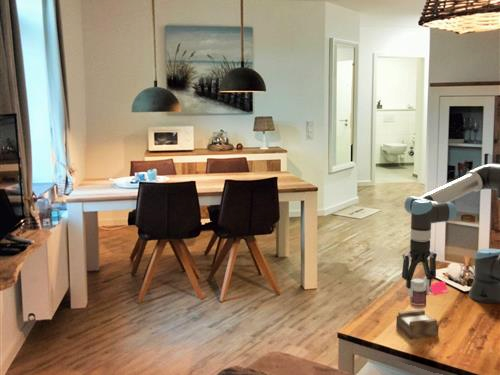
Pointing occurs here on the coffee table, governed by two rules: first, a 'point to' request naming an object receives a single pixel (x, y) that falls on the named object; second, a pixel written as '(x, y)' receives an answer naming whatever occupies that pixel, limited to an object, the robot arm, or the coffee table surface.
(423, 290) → the pill bottle
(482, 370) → the coffee table surface
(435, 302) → the coffee table surface
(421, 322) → the brown square open box
